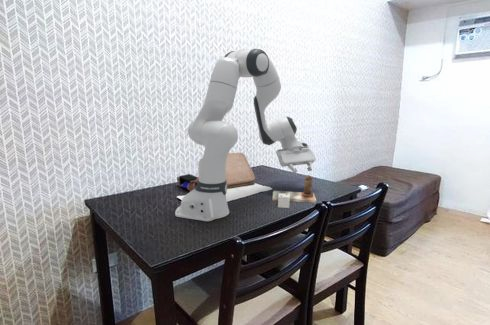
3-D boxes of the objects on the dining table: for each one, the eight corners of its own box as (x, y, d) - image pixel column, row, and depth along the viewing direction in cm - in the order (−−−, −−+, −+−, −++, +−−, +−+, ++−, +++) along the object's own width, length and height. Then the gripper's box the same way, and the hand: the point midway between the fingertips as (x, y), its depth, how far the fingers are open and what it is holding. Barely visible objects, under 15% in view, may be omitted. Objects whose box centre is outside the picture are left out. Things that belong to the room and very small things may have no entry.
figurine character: (176, 188, 161) (189, 193, 148) (175, 175, 160) (187, 178, 147) (187, 186, 165) (201, 191, 152) (186, 173, 164) (199, 176, 151)
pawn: (302, 197, 142) (303, 176, 140) (301, 193, 147) (302, 173, 145) (313, 197, 141) (314, 177, 139) (312, 194, 146) (313, 174, 144)
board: (272, 200, 141) (272, 197, 141) (273, 193, 152) (273, 190, 151) (316, 202, 139) (316, 199, 138) (313, 195, 149) (313, 192, 149)
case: (223, 190, 156) (223, 160, 152) (208, 179, 174) (208, 153, 170) (256, 184, 166) (257, 156, 162) (239, 175, 184) (239, 150, 180)
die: (277, 207, 133) (278, 196, 131) (278, 203, 137) (278, 193, 136) (289, 208, 132) (289, 197, 131) (289, 204, 137) (289, 193, 136)
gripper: (277, 146, 144) (288, 170, 138) (310, 143, 154) (322, 166, 148) (272, 153, 149) (282, 176, 143) (304, 150, 159) (315, 172, 152)
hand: (303, 171), depth 145 cm, fingers open, 8 cm apart
